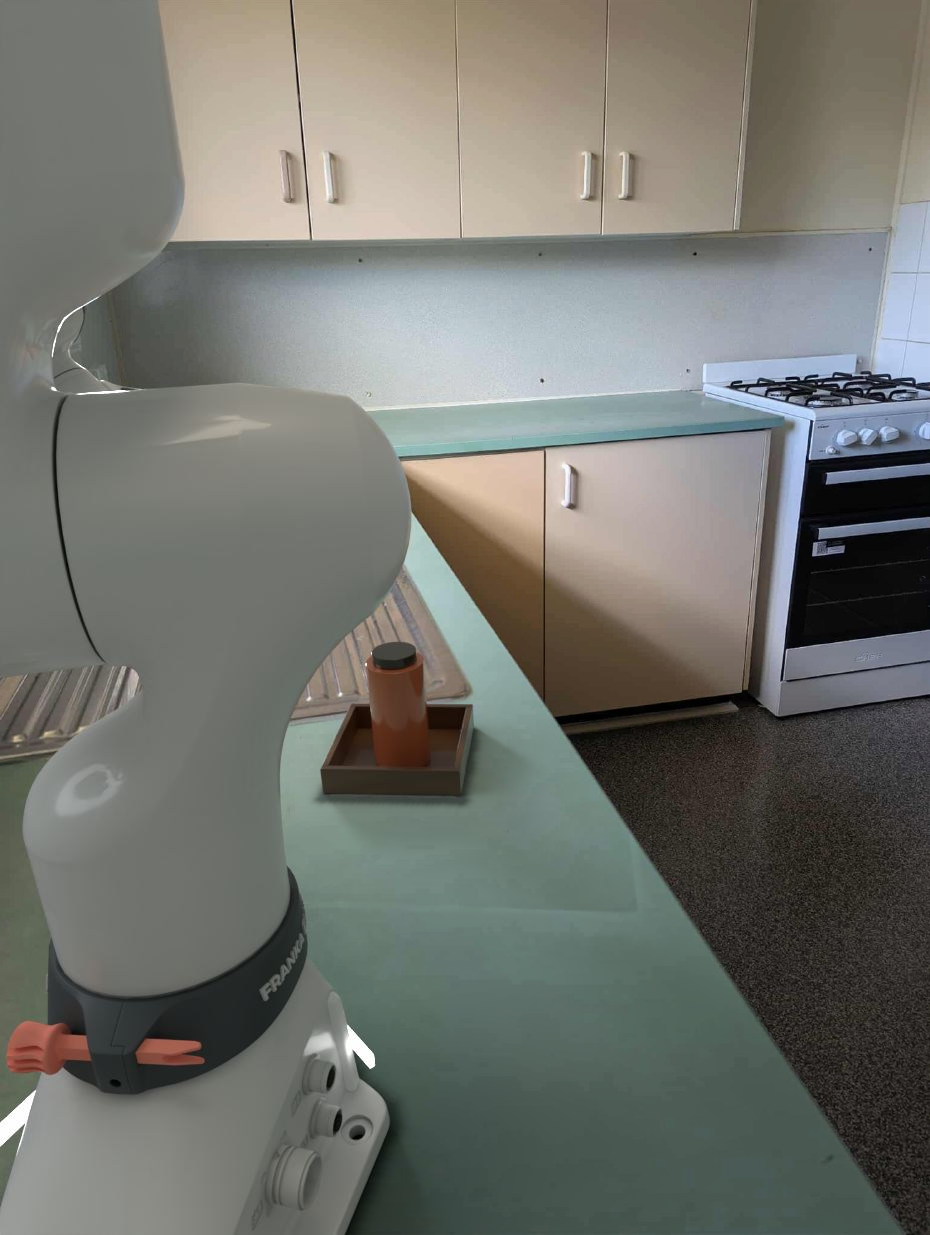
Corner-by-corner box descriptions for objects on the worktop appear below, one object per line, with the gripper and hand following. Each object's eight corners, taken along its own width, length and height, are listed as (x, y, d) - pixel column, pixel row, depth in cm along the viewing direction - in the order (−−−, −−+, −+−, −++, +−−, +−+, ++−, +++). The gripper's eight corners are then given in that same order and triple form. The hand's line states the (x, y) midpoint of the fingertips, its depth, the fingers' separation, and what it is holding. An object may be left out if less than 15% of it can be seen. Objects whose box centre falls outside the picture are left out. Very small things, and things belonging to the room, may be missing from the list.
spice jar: (426, 773, 79) (418, 662, 75) (370, 772, 79) (358, 662, 75) (434, 744, 84) (427, 638, 80) (380, 743, 84) (371, 638, 80)
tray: (461, 801, 76) (459, 770, 74) (323, 799, 77) (319, 768, 76) (474, 731, 87) (472, 704, 86) (353, 730, 88) (351, 703, 87)
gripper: (13, 425, 64) (157, 554, 66) (157, 387, 83) (266, 489, 85) (-24, 484, 67) (115, 607, 69) (124, 435, 86) (231, 532, 87)
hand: (200, 541), depth 77 cm, fingers open, 8 cm apart
